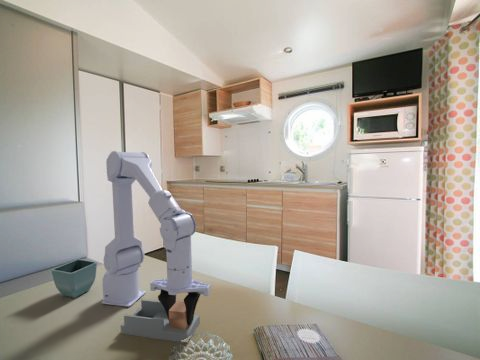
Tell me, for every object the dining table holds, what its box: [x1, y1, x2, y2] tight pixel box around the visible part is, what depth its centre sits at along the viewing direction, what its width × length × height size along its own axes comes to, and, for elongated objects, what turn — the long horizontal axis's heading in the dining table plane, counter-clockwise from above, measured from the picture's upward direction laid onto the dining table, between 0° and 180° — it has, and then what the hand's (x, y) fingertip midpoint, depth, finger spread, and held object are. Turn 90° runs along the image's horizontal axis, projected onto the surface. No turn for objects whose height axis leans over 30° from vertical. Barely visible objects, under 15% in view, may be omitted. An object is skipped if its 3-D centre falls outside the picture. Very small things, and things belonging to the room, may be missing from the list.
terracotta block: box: [169, 300, 188, 329], centre depth 57 cm, size 4×4×4 cm
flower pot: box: [51, 259, 98, 299], centre depth 76 cm, size 9×9×9 cm
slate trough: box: [120, 299, 201, 343], centre depth 58 cm, size 17×7×4 cm, turn 78°
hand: (181, 321), depth 57 cm, fingers closed on terracotta block, 4 cm apart
